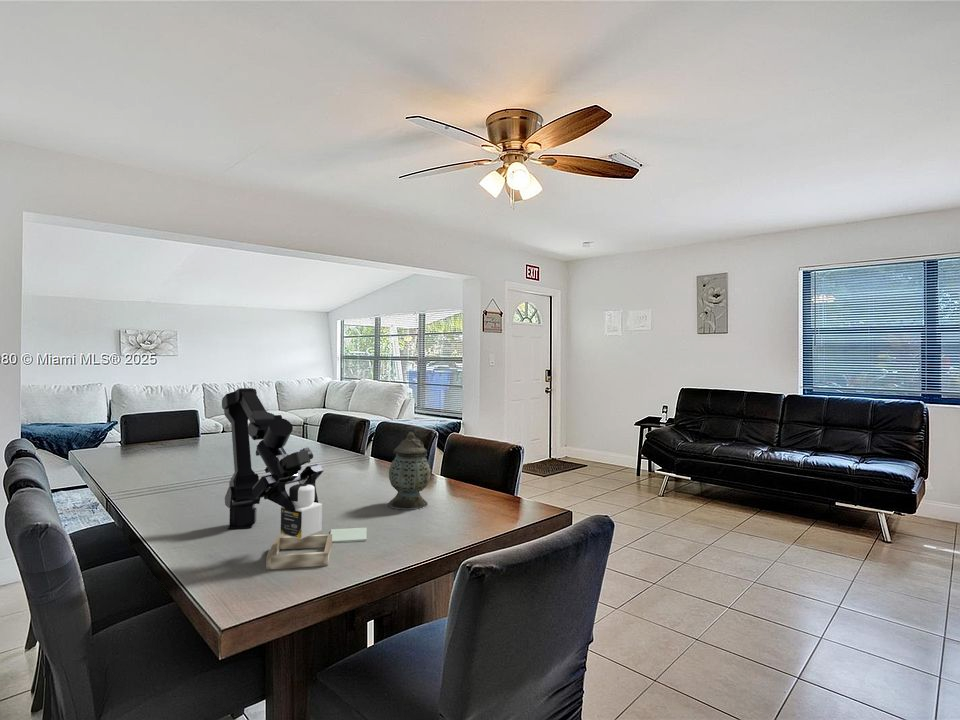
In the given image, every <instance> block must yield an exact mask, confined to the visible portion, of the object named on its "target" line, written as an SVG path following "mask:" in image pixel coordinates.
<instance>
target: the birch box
mask: <svg viewBox="0 0 960 720" xmlns="http://www.w3.org/2000/svg"><path fill="white" fill-rule="evenodd" d="M332 546H333V543H332V534H330V533H327V534H313V535H310V536H308V537H305V538H303V539H298V538H294V537H290V536H286V535H282V536H276V537H275V539H274V541H273V543H272V545H271V547H270V548H269V551H268V552H267V555H266V557H265V559H266V561H265V569H266V570H276V569H277V570H279V569H291V568H292V569H293V568H294V569H295V568H307V567H308V568H309V567H313V568H314V567H325V566H327V567H328V565H329V562H330V557H331V552H332ZM309 548H310V549H314V548H324V550H323V551H317V552H316V551H315V552H298V553H297V552H295V553H283V554H281V553H280V551H281V550H292V549H293V550H295V549H309ZM279 553H280V554H279Z"/></svg>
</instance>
